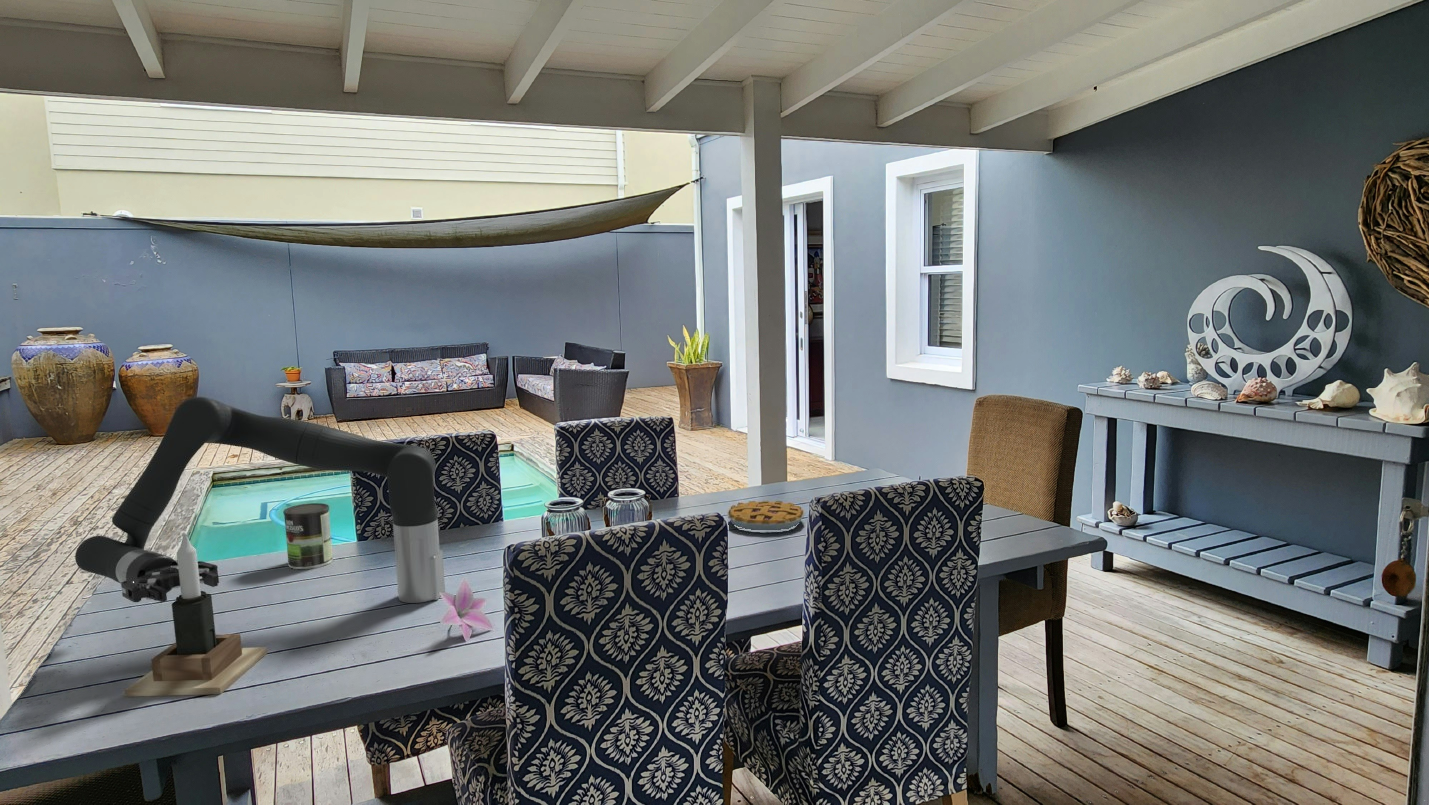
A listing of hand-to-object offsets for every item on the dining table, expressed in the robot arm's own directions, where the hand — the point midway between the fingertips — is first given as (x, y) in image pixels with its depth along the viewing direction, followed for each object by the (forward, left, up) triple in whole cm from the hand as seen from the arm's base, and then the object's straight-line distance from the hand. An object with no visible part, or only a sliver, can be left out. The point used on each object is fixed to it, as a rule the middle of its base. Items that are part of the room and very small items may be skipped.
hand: (190, 588), depth 151 cm
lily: (-43, -15, -16) cm, 49 cm away
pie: (-109, -86, -16) cm, 140 cm away
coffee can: (+7, -61, -16) cm, 64 cm away
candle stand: (0, 0, -16) cm, 16 cm away
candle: (0, 0, -15) cm, 15 cm away
